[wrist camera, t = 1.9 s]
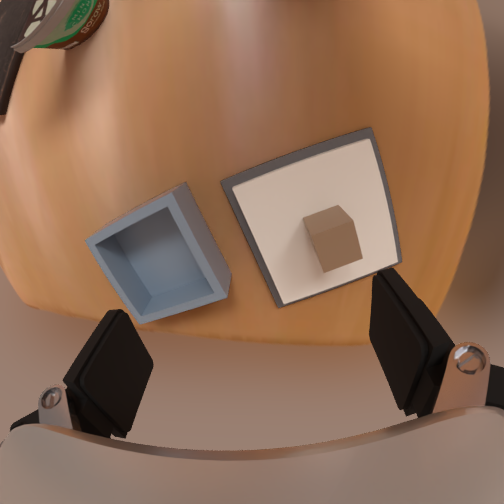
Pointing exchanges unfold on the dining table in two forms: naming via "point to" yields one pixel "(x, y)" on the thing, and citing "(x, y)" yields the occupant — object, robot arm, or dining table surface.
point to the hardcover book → (10, 44)
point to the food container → (61, 23)
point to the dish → (162, 257)
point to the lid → (320, 220)
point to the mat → (290, 159)
